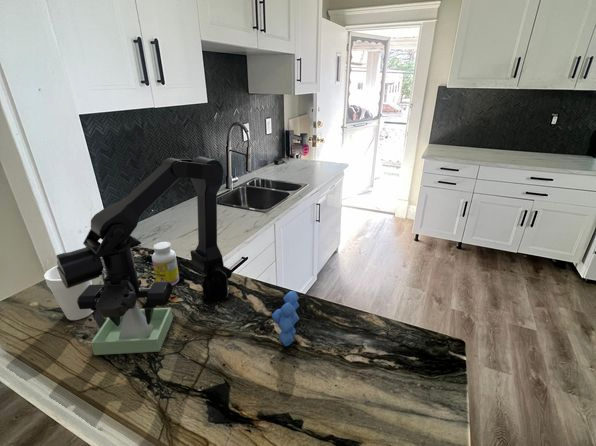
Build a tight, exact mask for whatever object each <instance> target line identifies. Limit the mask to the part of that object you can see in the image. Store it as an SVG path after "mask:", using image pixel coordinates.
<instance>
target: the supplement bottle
mask: <svg viewBox="0 0 596 446" xmlns="http://www.w3.org/2000/svg"><path fill="white" fill-rule="evenodd" d="M152 248H153V251H154V252H153V254H152V255H151V261H152V267H153V272H154V277H155V278H154V279H155V282H169V283H171V285H172V287H173V286H175V285H177V283H178V282H179V281H180V273H179V268H178V261H177V255H176V252H175V251H174V250H173V249H172V245H171V243H170V242H169V241H160V242H157V243H155V244H154V245H153V247H152Z"/></svg>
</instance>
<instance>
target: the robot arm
mask: <svg viewBox="0 0 596 446" xmlns="http://www.w3.org/2000/svg"><path fill="white" fill-rule="evenodd" d="M224 175H225V169H224V165H223V163H221V162H220V161H218V160H217V159H213V158H209V157H205V156H196V157H194V158H193V159H189V158H188V159H187V158H174V157H168V158H166V159H164V160H163V162H162V164H161V165H160V166H158V167H157V168H156V169H155V170H154V171H153V172H152V173H151V174H150V175H148V176H147V177H146V178H145V179H144V180H143V181H142V182H141V183H140V184H139V185H137V187H135V188H134V189H133V190H132V191H131V192H130V193H129V194H128V195H126V197H124V198H123V199H120V200H119V201H117V202H114V203H111V204H109V205H108V206H106V207H104V208H103V209H101V210H100V211H98V212H97V213H95V214H94V215H93V216H92V218H91V220H90V229H89V231H88V233H87V235H86V237H85V238H84V240H83V243H82V244H83V245H84V246H85V247H83V248H79V249H76V250H73V251H69V252H62V253H58V254H56V256H55V257H56V260H57V261H56V264H57V265H58V267H57V269H58V272H59V275H60V277H61V279H62V281H63V283H64V285H65V287H66V288H70V287H73V286H76V285H78V284H81V283H84V282H87V281H89V280H92V281H93V280H95V279H98V278H100V276H102V275H103V271H105V275H106V276H105V277H104V278H103V283H102V284H100V283H99V284H92V285H89V286H88V287H87V288H86V289H85V290H84V292H83V293H82V294H81V295H80V296H79V297H78V299H77V304H78V307H79V309H91V310H92V311H93V312H98V313H99V315H100V316H101V317H102V318H106V319H107V318H108V317H109V318H110V320H111V321H112V322H113V323H114V324H115V325H116V326H119V325H120V317H121V316H123V315H124V314H125V313H126V311H128V309H133V308H134V307H135V304H136V303H137V301H138V299H144V300H145V301H144V303H143V305H142V306H141V309H144V310H145V316H146V322H147V324H148V325H149V324H150V322H151V319H152V315H153V311H154V308H158V307H163V306H165V305H167V304H168V302H169V301H170V298H171V296H172V294H173V291H174V290H173V286H172V285H171V283H169V282H156V281H155V282H153V283H152V285H151V286H149V287H147V288H141V286H142V284H143V283H142V279H139V277H138V273H137V271H138V270H139V264H135V258H134V254H133V250H132V248H134V247H137V246H140V245H142V242H141V241H140V240H139V239H137V238H136V237H134V236H132V233H133V232H134V231H135V229H136V228H137V227H138V224H139V222H140V219H141V217H142V216H143V214H144V213H145V212H146V211H147V210H148V209H149V208H150V207H151V206H152V205H153V204H154V203H156V202H157V200H159V198H161V197H162V196H163V195H164V194H165V193H166V192H167V191H168V190H170V188H171V187H172V186H173V185H174V184H176V182H178V180H180V178H187V179H191V183H192V185H193V187H194V190H195V191H196V198H197V199H196V200H197V201H196V202H197V203H196V204H197V238H198V241H197V242H198V243H197V246H196V248H194V249H192V250H190V251H189V252H190V258H191V259H190V262H189V263H190V265H191V266H192V268H193V269H194V270H196V271H197V272H199V274H202V275H203V279H202V282H201V285H202V293H203V294H202V295H204V298H203V300H204V301H215V300H227V299H228V298H229V294H230V284H229V279H232V275H233V270H232V269H230V268H228V267H226V265H224V259H223V255H222V252H221V250H220V248H219V245H218V192H219V191H220V189H221V188H222V186H223V183H224V182H223V181H224ZM100 240H101V242H100ZM57 265H56V266H57Z"/></svg>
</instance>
